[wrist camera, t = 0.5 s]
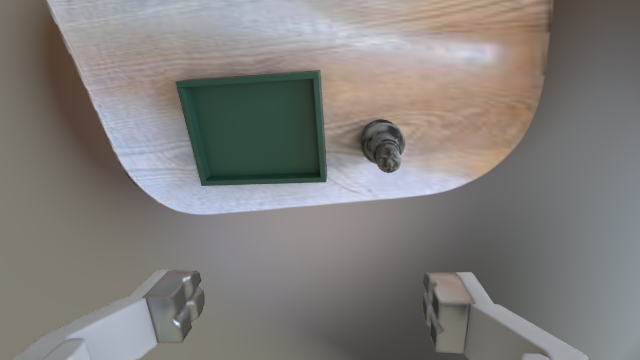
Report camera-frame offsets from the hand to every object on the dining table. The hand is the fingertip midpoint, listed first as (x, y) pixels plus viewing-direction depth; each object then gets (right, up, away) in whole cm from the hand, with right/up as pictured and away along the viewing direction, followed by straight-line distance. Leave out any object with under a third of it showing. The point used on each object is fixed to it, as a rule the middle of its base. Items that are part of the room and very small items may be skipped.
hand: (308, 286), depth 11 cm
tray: (-9, +11, +34) cm, 37 cm away
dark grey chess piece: (+9, +10, +33) cm, 36 cm away
